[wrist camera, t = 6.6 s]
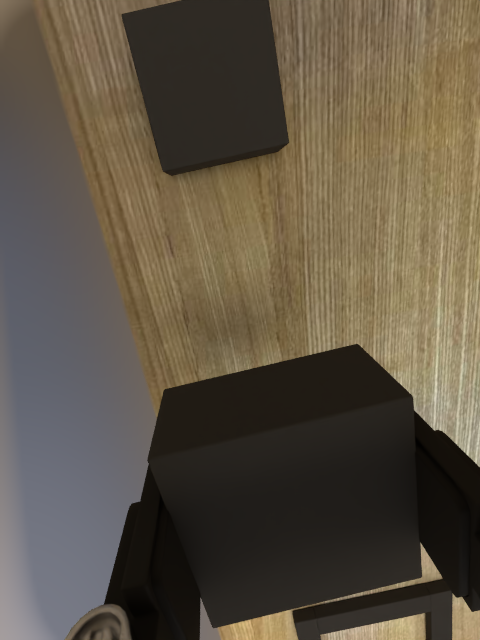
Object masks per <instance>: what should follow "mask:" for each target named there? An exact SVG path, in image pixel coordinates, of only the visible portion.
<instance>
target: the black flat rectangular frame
mask: <svg viewBox="0 0 480 640" xmlns="http://www.w3.org/2000/svg"><path fill="white" fill-rule="evenodd" d="M422 613H426V638H427V640H452V592H451V590H450V588H449V587H448V585H447V584H446V582H445V580H439V581H435V582H430V583H425V584H420V585H415V586H411V587H406V588H401V589H396V590H391V591H387V592H382V593H377V594H372V595H368V596H363V597H358V598H353V599H348V600H344V601H339V602H334V603H329V604H325V605H320V606H315V607H314V608H313V607H311V608H306V609H302V610H297V611H293V618H294V623H295V627H296V631H297V635H298V639H299V640H321V639H320V635H321V634H326V633H331V632H336V631H340V630H345V629H350V628H355V627H360V626H364V625H369V624H374V623H379V622H384V621H388V620H393V619H398V618H403V617H408V616H412V615H417V614H422Z"/></svg>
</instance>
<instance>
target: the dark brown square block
mask: <svg viewBox="0 0 480 640" xmlns="http://www.w3.org/2000/svg"><path fill="white" fill-rule="evenodd" d="M415 451H416V445H415V425H414V404H413V396H412V395H411V394H410V393H409V392H408V391H407V390H406V389H405V388H404V387H402V386H401V385H400V384H399V383H398V382H397V381H396V380H395V379H394V378H393V377H392V376H391V375H390V374H389V373H388V372H387V371H386V370H385V369H384V368H383V367H381V366H380V365H379V364H378V363H377V362H376V361H375V360H374V359H373V358H372V357H371V356H370V355H369V354H368V353H367V352H366V351H365V350H364V349H363V348H362V347H361V346H359V345H358V344H354V345H350V346H346V347H342V348H338V349H333V350H329V351H325V352H321V353H316V354H312V355H308V356H304V357H299V358H295V359H291V360H287V361H283V362H278V363H274V364H270V365H266V366H261V367H257V368H253V369H249V370H244V371H240V372H236V373H232V374H228V375H223V376H219V377H215V378H211V379H206V380H202V381H198V382H194V383H190V384H185V385H181V386H177V387H173V388H168V389H165V390H164V392H163V396H162V400H161V405H160V409H159V413H158V417H157V421H156V426H155V430H154V434H153V438H152V443H151V447H150V451H149V455H148V463H149V466H150V468H151V471H152V473H153V476H154V478H155V481H156V484H157V486H158V489H159V491H160V494H161V496H162V499H163V502H164V504H165V507H166V509H167V511H169V514H170V516H171V519H172V521H173V524H174V526H175V529H176V532H177V534H178V537H179V539H180V542H181V545H182V547H183V550H184V552H185V555H186V557H187V560H188V563H189V565H190V568H191V570H192V573H193V576H194V578H195V581H196V583H197V586H198V588H199V591H200V597H201V599H202V602H203V604H204V607H205V609H206V612H207V615H208V617H209V619H210V622H211V625H212V627H213V628H217V627H221V626H225V625H229V624H233V623H237V622H241V621H245V620H250V619H254V618H258V617H262V616H266V615H270V614H274V613H278V612H282V611H286V610H291V609H295V608H299V607H303V606H307V605H311V604H315V603H319V602H323V601H327V600H331V599H336V598H340V597H344V596H348V595H352V594H356V593H360V592H364V591H368V590H372V589H377V588H381V587H385V586H389V585H393V584H397V583H401V582H405V581H409V580H413V579H418V578H421V577H422V567H421V546H420V540H419V521H418V501H417V482H416V462H415Z"/></svg>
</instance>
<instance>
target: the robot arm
mask: <svg viewBox="0 0 480 640" xmlns="http://www.w3.org/2000/svg"><path fill="white" fill-rule="evenodd" d="M414 425H415V445H416V451H415V462H416V482H417V501H418V521H419V540H420V542H421V544H422V545H423V547H424V548H425V550H426V552H427V553H428V555H429V556H430V558H431V560H432V561H433V563H434V564H435V566H436V568H437V569H438V571H439V572H440V574H441V576H442V577H443V579H444V580H445V582H446V584H447V585H448V587H449V588H450V590H451V592H452V593H453V594H454V595H455V596H456V597H457V598H458V597H463V599H464V600H465V602H466V603H467V605H468V606H469V608H470V610H471V611H472V612H474V611H478V610H480V467H479V466H478V465H477V464H476V463H475V462H474V461H473V460H472V459H471V458H470V457H468V456H467V455H466V454H465V453H464V452H463V451H462V450H461V449H460V448H459V447H458V446H457V445H456V444H455V443H454V442H453V441H452V440H451V439H450V438H449V437H448V436H447V435H446V434H445V433H443V432H442V431H440V430H436V431H434V430H433V429H432V428H431V427H430V426H429V425H428V424H427V423H426V422H425V421H424V420H423V419H422V418H421V417H420V416H419V415H418V414H417V413H416V412H415V411H414ZM199 639H200V591H199V588H198V586H197V583H196V581H195V578H194V576H193V573H192V570H191V568H190V565H189V563H188V560H187V557H186V555H185V552H184V550H183V547H182V545H181V542H180V539H179V537H178V534H177V532H176V529H175V526H174V524H173V521H172V519H171V516H170V514H169V511H167V509H166V507H165V504H164V502H163V499H162V496H161V494H160V491H159V489H158V486H157V484H156V481H155V478H154V476H153V473H152V471H151V468H150V466H148V470H147V474H146V478H145V483H144V487H143V492H142V496H141V501H140V502H136V503H133V504H131V506H130V508H129V510H128V513H127V517H126V521H125V525H124V529H123V533H122V537H121V541H120V544H119V548H118V552H117V556H116V560H115V564H114V568H113V572H112V575H111V579H110V583H109V587H108V591H107V595H106V599H105V603H104V605H101V606H99V607H97V608H94V609H92V610H91V611H89V612H88V613H87V614H85V615H84V616H83V617H82V618H80V620H79V621H78V622H77V623H76V624H75V625H74V626H73V628H72V629H71V630H70V632H69V634H68V635H67V637H66V638H65V640H199Z"/></svg>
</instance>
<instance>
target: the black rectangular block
mask: <svg viewBox="0 0 480 640" xmlns="http://www.w3.org/2000/svg"><path fill="white" fill-rule="evenodd" d="M122 19H123V23H124V27H125V31H126V35H127V38H128V42H129V46H130V50H131V53H132V57H133V61H134V65H135V69H136V72H137V76H138V80H139V84H140V87H141V91H142V95H143V99H144V102H145V106H146V110H147V114H148V118H149V121H150V125H151V129H152V133H153V136H154V140H155V144H156V148H157V152H158V155H159V159H160V163H161V167H162V170H163V172H165V173H167V174H169V175H177V174H181V173H185V172H190V171H194V170H199V169H203V168H208V167H212V166H217V165H221V164H225V163H230V162H234V161H239V160H243V159H248V158H252V157H257V156H261V155H265V154H270V153H274V152H278V151H279V150H280V149H282V148H283V147H284V146H286V145H287V144H288V143H289V139H288V132H287V125H286V118H285V112H284V105H283V98H282V91H281V84H280V77H279V70H278V63H277V56H276V49H275V42H274V35H273V28H272V21H271V14H270V7H269V0H181V1H177V2H173V3H168V4H164V5H160V6H155V7H151V8H147V9H142V10H138V11H134V12H129V13H125V14H122Z"/></svg>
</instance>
